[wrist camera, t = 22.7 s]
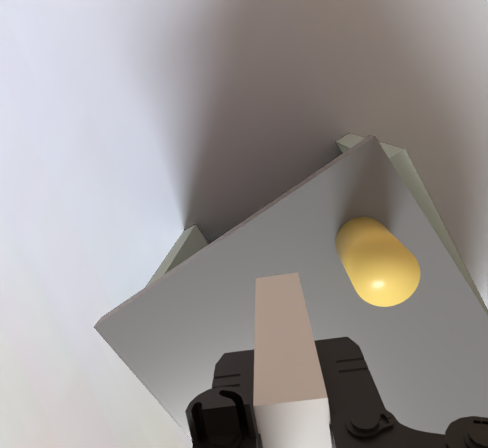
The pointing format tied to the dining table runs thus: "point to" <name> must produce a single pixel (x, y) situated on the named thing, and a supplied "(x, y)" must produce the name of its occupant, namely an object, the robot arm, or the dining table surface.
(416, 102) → the dining table surface
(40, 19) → the dining table surface
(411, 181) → the channel
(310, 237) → the cover
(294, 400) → the robot arm
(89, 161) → the dining table surface
